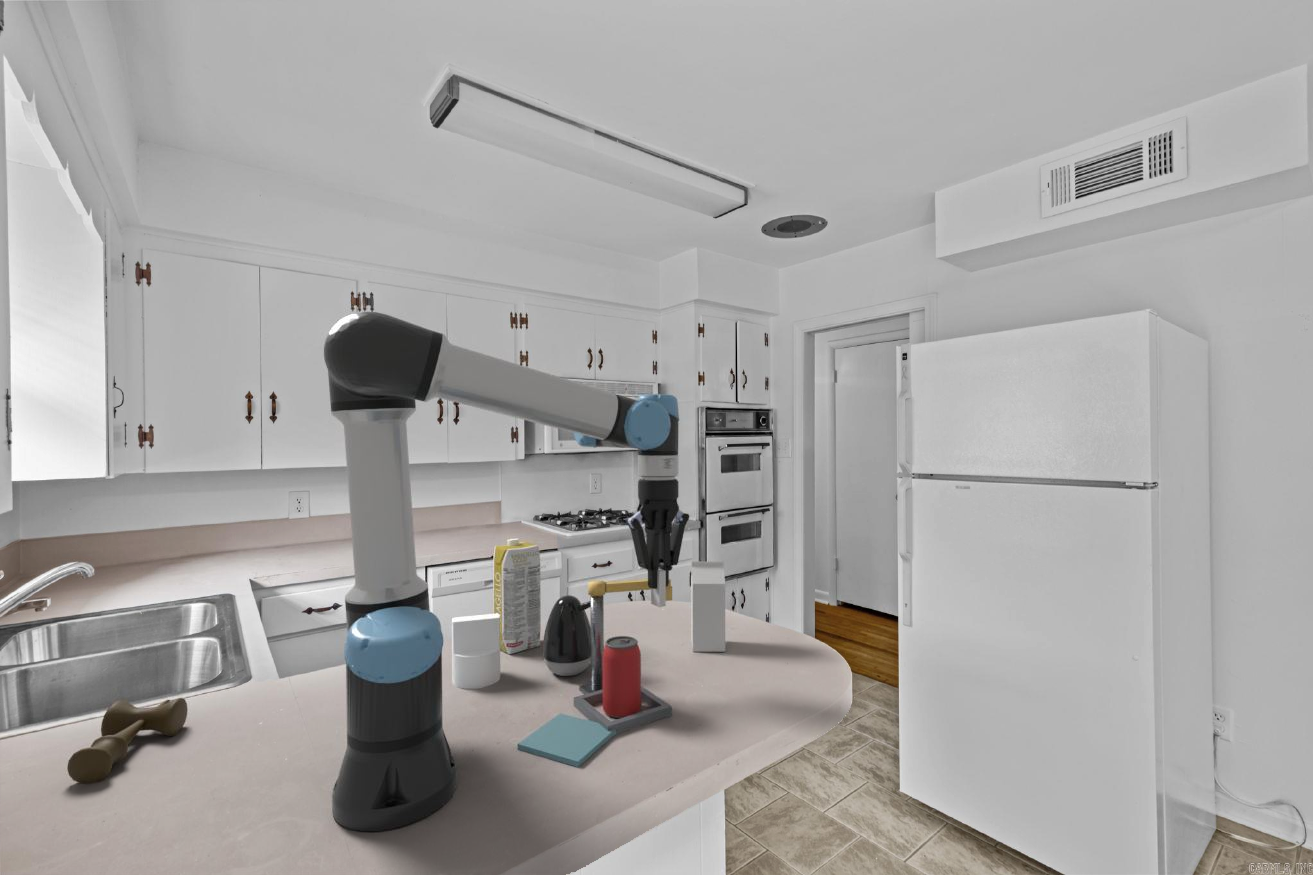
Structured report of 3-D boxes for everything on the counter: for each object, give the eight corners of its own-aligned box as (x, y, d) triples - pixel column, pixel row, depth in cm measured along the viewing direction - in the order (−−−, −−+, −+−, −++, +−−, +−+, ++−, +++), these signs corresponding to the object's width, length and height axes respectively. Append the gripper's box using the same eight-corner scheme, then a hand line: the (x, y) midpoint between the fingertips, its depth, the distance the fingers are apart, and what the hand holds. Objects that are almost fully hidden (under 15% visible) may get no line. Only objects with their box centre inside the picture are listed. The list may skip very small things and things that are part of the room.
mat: (578, 767, 86) (578, 761, 86) (517, 749, 91) (517, 743, 91) (616, 732, 96) (616, 727, 96) (560, 717, 101) (560, 713, 101)
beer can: (648, 707, 105) (648, 639, 104) (626, 723, 99) (626, 651, 99) (617, 698, 108) (617, 632, 108) (594, 713, 103) (594, 643, 102)
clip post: (615, 693, 110) (615, 596, 110) (591, 699, 108) (591, 601, 107) (602, 683, 115) (602, 590, 114) (579, 689, 112) (578, 594, 112)
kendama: (44, 793, 81) (135, 719, 101) (127, 785, 84) (201, 715, 103) (43, 750, 81) (135, 684, 101) (127, 743, 83) (201, 680, 103)
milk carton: (725, 652, 130) (725, 565, 130) (692, 652, 131) (692, 565, 130) (722, 640, 138) (722, 558, 137) (691, 640, 138) (690, 558, 137)
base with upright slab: (498, 667, 123) (498, 608, 123) (502, 685, 114) (501, 622, 114) (452, 673, 120) (451, 613, 120) (452, 691, 111) (451, 627, 111)
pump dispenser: (585, 683, 115) (585, 604, 114) (534, 679, 117) (533, 601, 116) (601, 663, 125) (600, 590, 124) (553, 659, 127) (553, 587, 126)
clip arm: (668, 596, 116) (668, 575, 116) (673, 601, 113) (673, 579, 113) (587, 603, 112) (586, 581, 112) (589, 608, 109) (589, 585, 109)
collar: (672, 715, 102) (672, 706, 102) (607, 735, 95) (607, 726, 95) (633, 688, 112) (633, 680, 112) (573, 705, 105) (573, 697, 105)
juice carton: (526, 637, 140) (526, 534, 140) (545, 646, 134) (544, 539, 134) (489, 647, 134) (488, 540, 133) (507, 657, 128) (506, 545, 128)
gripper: (639, 481, 105) (639, 615, 105) (698, 477, 112) (698, 604, 112) (617, 478, 111) (617, 605, 111) (675, 475, 118) (675, 594, 118)
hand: (658, 604), depth 112 cm, fingers closed
